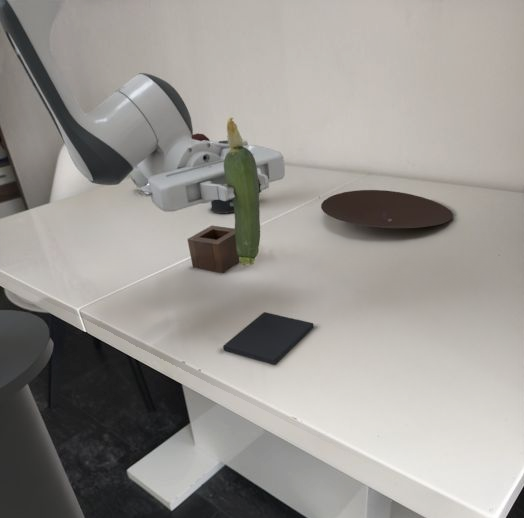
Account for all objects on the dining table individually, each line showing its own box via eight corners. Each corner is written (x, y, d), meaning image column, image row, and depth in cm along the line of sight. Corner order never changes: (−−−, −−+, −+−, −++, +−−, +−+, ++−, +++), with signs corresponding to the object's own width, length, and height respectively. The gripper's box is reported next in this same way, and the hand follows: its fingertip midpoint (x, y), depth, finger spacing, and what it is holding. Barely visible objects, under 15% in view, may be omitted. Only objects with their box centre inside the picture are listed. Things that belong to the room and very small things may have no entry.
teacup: (182, 189, 155) (177, 160, 151) (142, 200, 150) (135, 171, 146) (161, 180, 166) (156, 153, 162) (123, 190, 161) (117, 162, 157)
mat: (274, 364, 75) (274, 360, 74) (223, 350, 79) (222, 345, 79) (313, 327, 82) (313, 323, 81) (264, 316, 87) (264, 311, 86)
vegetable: (247, 256, 80) (227, 112, 70) (273, 258, 78) (257, 111, 68) (233, 268, 77) (209, 120, 66) (259, 271, 75) (239, 119, 64)
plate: (479, 227, 108) (481, 209, 106) (344, 251, 105) (343, 233, 103) (419, 190, 131) (419, 175, 129) (307, 209, 128) (306, 194, 126)
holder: (223, 273, 102) (218, 243, 99) (192, 267, 106) (187, 239, 103) (246, 258, 107) (242, 229, 104) (216, 253, 111) (211, 225, 108)
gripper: (129, 166, 75) (173, 183, 65) (251, 136, 84) (305, 147, 74) (139, 210, 79) (182, 233, 69) (255, 177, 87) (308, 193, 77)
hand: (247, 188), depth 71 cm, fingers closed on vegetable, 4 cm apart
